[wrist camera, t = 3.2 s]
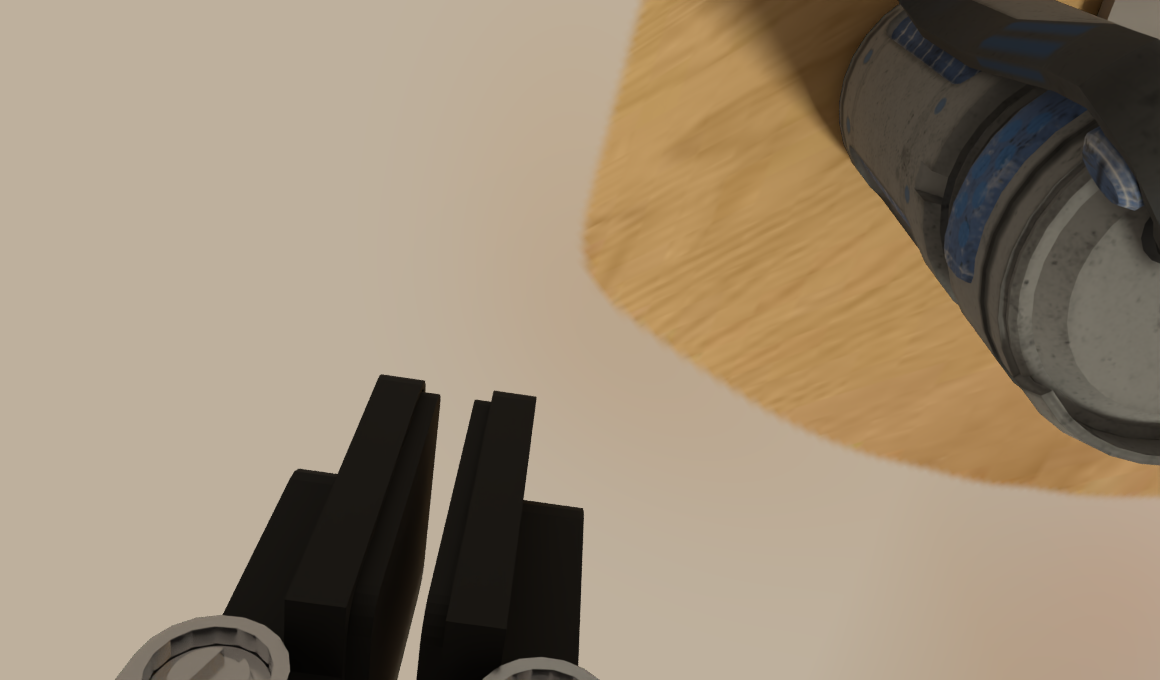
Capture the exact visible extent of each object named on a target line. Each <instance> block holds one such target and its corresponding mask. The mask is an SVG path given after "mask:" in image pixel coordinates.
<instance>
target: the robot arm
mask: <svg viewBox="0 0 1160 680" xmlns="http://www.w3.org/2000/svg"><path fill="white" fill-rule="evenodd" d="M535 405H536V397H534V396H528V395H521V394H514V393H506V392H500V391H494V392H493V396H492V401H491V402H489V401H481V400H475V401H474V405H473V409H472V413H471V418H470V422H469V426H468V430H467V434H466V439H465V443H464V447H463V451H462V455H461V460H460V464H459V469H458V473H457V477H456V481H455V485H454V489H453V493H452V498H451V502H450V506H449V510H448V515H447V519H446V523H445V527H444V532H443V535H442V540H441V544H440V548H439V552H438V556H437V561H436V565H435V569H434V573H433V578H432V582H431V586H430V590H429V595H428V599H427V604H426V609H425V615H424V621H423V627H422V633H421V641H420V651H419V661H418V670H417V680H599V679H598V678H596V677H595V676H594V675H592V674H591V673H590V672H588V671H587V670H585V669H584V668H581V667H579V666H578V656H579V627H580V604H581V577H582V550H583V524H584V523H583V522H584V511H583V508H577V507H570V506H562V505H555V504H548V503H541V502H534V501H527V500H523V498H524V490H525V482H526V475H527V467H528V459H529V452H530V444H531V436H532V428H533V421H534V413H535ZM439 410H440V395H439V394H433V393H426V392H425V381H423V380H416V379H410V378H403V377H396V376H389V375H380V376H379V378H378V380H377V382H376V385H375V387H374V390H373V392H372V395H371V397H370V400H369V401H368V404H367V406H366V408H365V411H364V413H363V416H362V418H361V420H360V423H359V425H358V428H357V430H356V432H355V434H354V437H353V439H352V441H351V444H350V446H349V449H348V451H347V453H346V456H345V458H344V460H343V463H342V465H341V467H340V470H339V472H338V474H333V473H326V472H319V471H311V470H304V469H298V470H296V471H294V473H293V475H292V476H291V478H290V480H289V482H288V484H287V486H286V488H285V490H284V492H283V494H282V496H281V498H280V500H279V502H278V504H277V506H276V508H275V510H274V512H273V514H272V516H271V518H270V520H269V522H268V524H267V527H266V528H265V530H264V532H263V534H262V536H261V538H260V540H259V542H258V544H257V546H256V548H255V550H254V553H253V555H252V556H251V559H250V561H249V563H248V565H247V567H246V569H245V571H244V573H243V575H242V577H241V579H240V581H239V583H238V585H237V587H236V589H235V591H234V593H233V595H232V597H231V599H230V601H229V603H228V605H227V607H226V609H225V611H224V613H223V615H217V616H209V617H199V618H194V619H191V620H188V621H185V622H182V623H179V624H176V625H173V626H171V627H169V628H167V629H166V630H164V631H162V632H160V633H159V634H157V635H155V636H154V637H152V638H151V639H150V640H149V641H147V643H145V645H143V646H142V647H141V648H140V649H139V650H138V651H137V652H136V653H135V654H134V656H133V657H132V658H131V659H130V661H129V662H128V663H127V665H126V666H125V668H124V669H123V670H122V671H121V672H120V674H119V675H118V676H117V678H116V679H115V680H397V678H398V673H399V670H400V666H401V662H402V658H403V654H404V650H405V646H406V642H407V638H408V634H409V630H410V626H411V622H412V618H413V614H414V610H415V606H416V602H417V598H418V594H419V590H420V585H421V580H422V574H423V568H424V559H425V550H426V539H427V530H428V520H429V509H430V499H431V490H432V480H433V470H434V469H433V468H434V459H435V449H436V440H437V430H438V420H439Z"/></svg>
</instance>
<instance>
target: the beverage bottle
mask: <svg viewBox="0 0 1160 680" xmlns="http://www.w3.org/2000/svg"><path fill="white" fill-rule="evenodd" d="M898 1H899V3H900V4H898V5H897V6H896V7H895V8H893V9H892V10H891V11H889V12H888V13H887V14H886V15H884V16H883V17H882V18H881V19H880V21H879V22H878V23H877V24H876V25H875V26H874V27H873V28H872V29H871V30H870V32H869V33H868V34H867V35H866V36H865V38H864V40H863V41H862V43H861V44H860V46H859V47H858V49H857V51H856V52H855V54H854V55H853V57H852V60H851V62H850V65H849V67H848V70H847V72H846V75H845V77H844V81H843V86H842V91H841V96H840V101H839V124H840V129H841V134H842V138H843V143H844V146H845V148H846V150H847V153H848V155H849V157H850V159H851V162H852V163H853V165H854V166H855V167H856V169H857V170H858V171H859V173H860V174H861V175H862V177H863V178H864V179H865V181H866V182H867V183H868V185H869V186H870V187H871V188H872V189H873V190H874V191H875V192H876V193H877V194H878V195H879V196H880V197H881V199H882V200H883V201H884V202H885V204H886V205H887V206H888V208H889V209H890V210H891V212H892V213H893V214H894V216H895V217H896V219H897V220H898V221H899V223H900V224H901V225H902V227H903V228H904V229H905V231H906V232H907V233H908V235H909V236H910V237H911V239H912V240H913V242H914V243H915V244H916V246H917V247H918V248H919V250H920V252H921V254H922V257H923V259H924V261H925V263H926V265H927V266H928V267H929V269H930V270H931V271H932V273H933V274H934V275H935V277H936V278H937V280H938V281H939V282H940V284H941V285H942V286H943V288H944V289H945V290H946V292H947V293H948V294H949V296H950V297H951V298H952V300H953V301H954V302H955V303H957V304H958V305H959V307H960V309H961V311H962V313H963V314H964V316H965V317H966V319H967V320H968V321H969V323H970V324H971V325H972V327H973V328H974V329H975V331H976V332H977V334H978V335H979V336H980V338H981V339H982V340H983V342H984V343H985V345H986V346H987V347H988V349H989V350H990V351H991V353H992V354H993V355H994V357H995V358H996V360H997V361H998V362H999V364H1000V365H1001V366H1002V368H1003V369H1004V370H1005V372H1006V373H1007V374H1008V376H1009V377H1010V378H1011V380H1012V381H1013V382H1014V383H1015V384H1016V385H1017V386H1019V387H1020V388H1021V389H1022V390H1023V391H1024V393H1025V394H1026V396H1027V397H1028V398H1029V400H1030V401H1031V402H1032V404H1033V405H1034V406H1035V408H1036V409H1037V411H1038V412H1039V413H1040V414H1041V415H1042V416H1043V417H1045V418H1046V419H1047V420H1048V421H1050V422H1051V423H1052V424H1053V425H1055V426H1056V427H1057V428H1058V429H1059V430H1061V431H1062V432H1063V433H1065V434H1067V435H1069V436H1071V437H1073V438H1075V439H1077V440H1079V441H1081V442H1084V443H1086V444H1088V445H1090V446H1092V447H1094V448H1096V449H1098V450H1100V451H1102V452H1104V453H1106V454H1108V455H1110V456H1113V457H1117V458H1121V459H1125V460H1128V461H1132V462H1136V463H1140V464H1150V465H1160V40H1159V39H1157V38H1155V37H1152V36H1149V35H1146V34H1143V33H1140V32H1137V31H1135V30H1132V29H1129V28H1127V27H1124V26H1121V25H1119V24H1116V23H1113V22H1111V21H1108V20H1106V19H1103V18H1100V17H1098V16H1095V15H1092V14H1090V13H1087V12H1085V11H1082V10H1079V9H1077V8H1074V7H1071V6H1069V5H1066V4H1063V3H1061V2H1058V1H1056V0H898Z"/></svg>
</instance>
